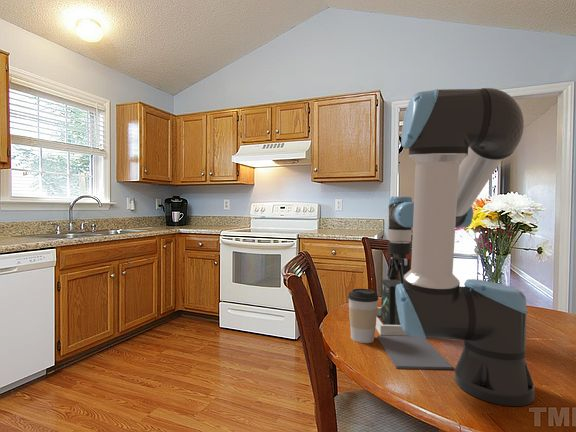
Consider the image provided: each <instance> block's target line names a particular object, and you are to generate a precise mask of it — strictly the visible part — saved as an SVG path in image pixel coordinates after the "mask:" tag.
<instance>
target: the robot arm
mask: <svg viewBox="0 0 576 432" xmlns="http://www.w3.org/2000/svg"><path fill="white" fill-rule="evenodd" d="M524 124H525V122H524V116H523V111H522V109H521V107H520V104H519V103H518V102H517V101H516V100H515V99H514V97H512V96H511V95H510V94H508V92H505V91H503V90H500V89H497V88H492V87H485V88H484V87H483V88H463V89H461V88H460V89H459V88H458V89H457V88H456V89H455V88H453V89H451V88H450V89H449V88H448V89H445V88H444V89H432V90H425V91H424V90H423V91H418V92H415V94H413V95H412V96H411V98H410V99H409V101H408V104H407V106H406V109H405V112H404V118H403V121H402V127H401V133H400V134H401V135H400V138H401V141H400V144H401V147H402V148H403V149H406V150H407V149H408V157H409V159H410V160H411V161H412V162H414V164H415V170H414V171H415V172H414V173H415V175H414V195H413V198H412V197H411V196H390V197H389V199H388V233H387V240H388V242H387V252H388V253H389V262H388V270H387V274H386V275H387V277H388V280H400V282H401V283H400V284H397V285H396V291H395V294H396V304H397V311H398V316H399V321H400V324H401V327H402V329H403V331H404V333H405V334H407V335H408V336H412V337H421V338H424V339H426V340H427V339H435V340H439V339H440V340H452V341H453V340H454V341H456V340H457V341H463V349H462V351H461V354H460V357H458V358H459V359H458V361H457V363H456V366H455V369H454V382H455V383H456V385H457V386H458V387H459V388H460V389H461V390H463V391H464V392H466V393H467V394H469V395H471V396H472V397H475V398H478V399H479V400H482V401H485V402H489V403H491V404H495V405H501V406H505V407H506V406H508V407H522V406H528V405H530V404H532V403H533V402H534V401H535V391H536V390H535V385H534V382H533V377H532V376H531V373H530V370H529V368H528V367H529V366H528V364H527V361H526V344H527V343H526V341H527V314H528V309H527V308H528V307H527V298H526V295H525V294H524V293H523V292H522V291H521V290H519V289H517V288H515V287H512V286H509V285H505V284H502V283H498V282H494V281H493V282H492V281H487V280H483V279H475V278H473V279H469V278H468V279H466V280H465V282H464V286H460V285H461V282H460V280H459V279H458V277H456V275H455V274H454V273H453V270H454V254H455V239H456V238H455V237H456V228H457V229H458V228H467V227H469V226H470V225H471V224H472V222H473V219H474V210H473V204H474V203H475V201H476V200H477V198H478V196H479V195H480V194H481V192H482V191H483V190H484V188H485V187H486V185H487V183H488V181H489V180H490V178H491V177H492V176H493V175H494V172H495V171H496V170H497V168H498V167H499V165H500V164H501V162H502V161H503V160H506V159H508V158H509V157H511V156H512V155H513V153H514V152H515V150H516V149H517V147H518V145H519V144H520V142H521V139H522V136H523V135H524V128H525V126H524ZM411 241H412V242H411ZM407 255H411V259H410V258H407ZM410 260H411V261H410ZM410 262H411V263H410ZM410 264H411V266H410Z"/></svg>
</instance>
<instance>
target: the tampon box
mask: <svg viewBox="0 0 576 432" xmlns="http://www.w3.org/2000/svg"><path fill="white" fill-rule="evenodd" d="M400 283H401V282H400V279H395V280H390V279H381V303H380V305H381V306H380V307H381V316H380V321H381V322H382V323H383V325H401V324H400V321H399V316H398V311H397V304H396V294H395V291H396V285H397V284H400Z"/></svg>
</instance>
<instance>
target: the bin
mask: <svg viewBox="0 0 576 432" xmlns="http://www.w3.org/2000/svg"><path fill="white" fill-rule="evenodd" d="M379 317H381V306H380V307H379V306H377V318H376V327H375V330H377V332H378V334H379V336H408V335H407V334H405V333H404V331H403V329H402V327H401V325H385V324H384V323H383V322H382V320H381V319H380V318H379Z"/></svg>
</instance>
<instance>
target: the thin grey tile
mask: <svg viewBox="0 0 576 432" xmlns="http://www.w3.org/2000/svg"><path fill="white" fill-rule="evenodd" d="M376 338H377V340H378V341H379V343H380V344H381V346H382V348H383V350H384V352H386V354H387V356H388V358H389V359H390V361H391V363H392V364H393V365H394V367H395V369H406V370H407V369H410V370H412V369H414V370H417V369H418V370H447V371H448V370H449V371H450V370H454V366H453V365H452V364H451V363H450V362H449V361H448V360H447V359H446V358H445V357H444V356H443V355H442V354H441V353H440V352H439V351H438V350H437V349H436V348H435V347H434V345H432V344H431V342H429V341H428V340H427V338H426V339H424V338H421V337H412V336H395V335H377V336H376Z"/></svg>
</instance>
